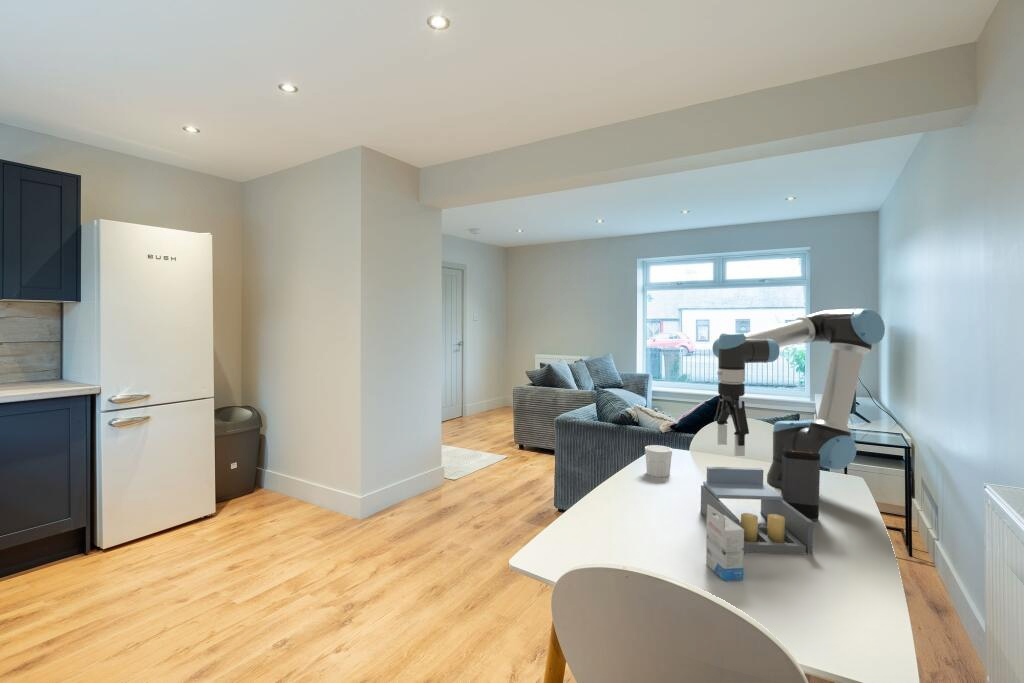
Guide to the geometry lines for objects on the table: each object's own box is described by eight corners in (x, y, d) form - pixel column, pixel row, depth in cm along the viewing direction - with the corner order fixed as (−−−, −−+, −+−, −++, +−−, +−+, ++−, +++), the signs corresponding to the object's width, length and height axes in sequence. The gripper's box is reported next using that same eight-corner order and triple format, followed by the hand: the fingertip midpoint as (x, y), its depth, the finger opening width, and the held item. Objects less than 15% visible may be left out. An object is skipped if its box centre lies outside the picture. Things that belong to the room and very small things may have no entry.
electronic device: (814, 514, 147) (816, 449, 147) (819, 522, 142) (821, 454, 141) (780, 510, 150) (781, 446, 150) (783, 517, 145) (785, 451, 144)
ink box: (744, 581, 109) (745, 516, 109) (723, 581, 109) (724, 517, 108) (724, 562, 118) (725, 502, 117) (705, 563, 117) (706, 503, 117)
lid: (763, 485, 148) (763, 468, 148) (782, 500, 136) (783, 480, 136) (703, 484, 149) (703, 466, 149) (716, 498, 137) (717, 479, 137)
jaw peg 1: (753, 538, 130) (753, 513, 130) (759, 545, 127) (760, 519, 126) (738, 538, 131) (738, 512, 131) (744, 545, 127) (744, 518, 127)
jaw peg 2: (779, 540, 130) (780, 514, 130) (787, 546, 126) (787, 520, 126) (764, 539, 130) (764, 513, 130) (771, 546, 126) (771, 519, 126)
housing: (764, 513, 148) (765, 486, 148) (812, 554, 122) (813, 522, 121) (700, 511, 150) (701, 485, 149) (733, 551, 123) (734, 519, 123)
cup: (675, 478, 182) (675, 451, 182) (648, 477, 182) (649, 451, 182) (667, 470, 192) (667, 445, 192) (641, 469, 192) (642, 445, 192)
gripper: (705, 377, 164) (704, 440, 165) (735, 387, 139) (734, 461, 140) (727, 377, 163) (727, 440, 164) (762, 387, 138) (761, 461, 139)
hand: (730, 449), depth 152 cm, fingers open, 13 cm apart
